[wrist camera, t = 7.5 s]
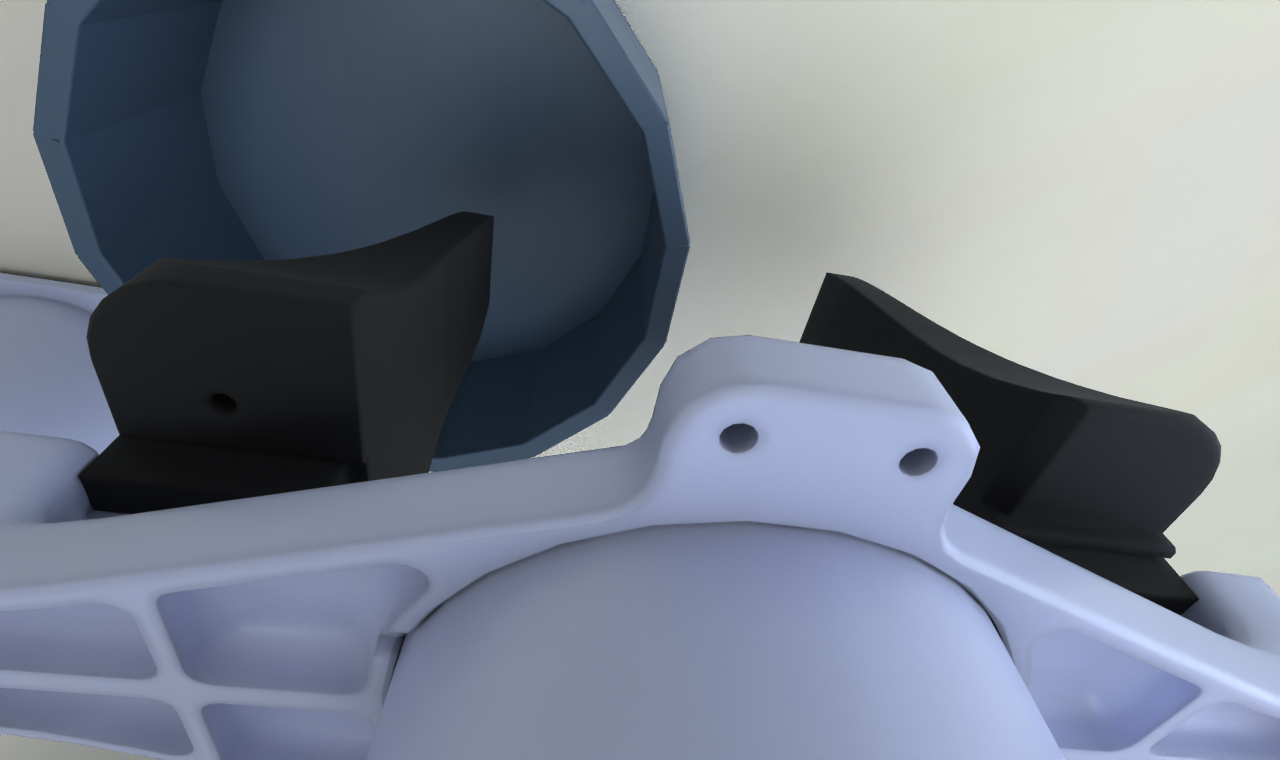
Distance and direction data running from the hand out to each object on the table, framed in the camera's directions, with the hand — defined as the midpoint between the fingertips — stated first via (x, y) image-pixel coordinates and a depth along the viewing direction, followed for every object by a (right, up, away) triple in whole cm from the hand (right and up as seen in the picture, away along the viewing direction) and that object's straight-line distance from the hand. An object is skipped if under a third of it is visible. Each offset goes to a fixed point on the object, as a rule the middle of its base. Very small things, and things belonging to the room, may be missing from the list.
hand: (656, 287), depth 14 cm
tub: (-6, +3, +3) cm, 7 cm away
